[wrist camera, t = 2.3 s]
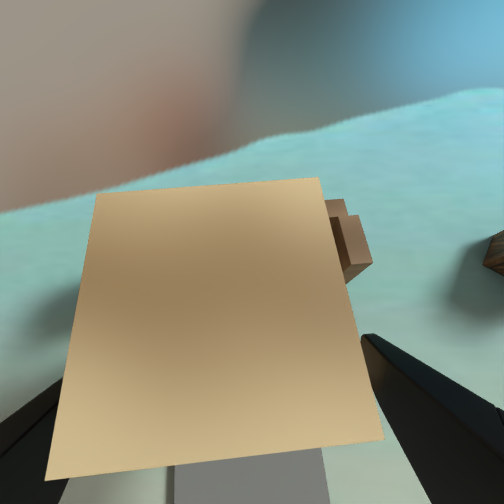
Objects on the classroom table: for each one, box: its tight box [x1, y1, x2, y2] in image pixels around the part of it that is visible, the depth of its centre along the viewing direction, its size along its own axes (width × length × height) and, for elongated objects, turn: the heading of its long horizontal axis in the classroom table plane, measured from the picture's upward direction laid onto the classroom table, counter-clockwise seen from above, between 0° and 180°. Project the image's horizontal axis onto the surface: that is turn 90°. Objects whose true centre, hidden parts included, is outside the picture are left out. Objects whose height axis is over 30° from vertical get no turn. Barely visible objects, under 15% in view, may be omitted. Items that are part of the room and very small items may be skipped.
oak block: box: [45, 177, 385, 481], centre depth 11 cm, size 5×5×13 cm
